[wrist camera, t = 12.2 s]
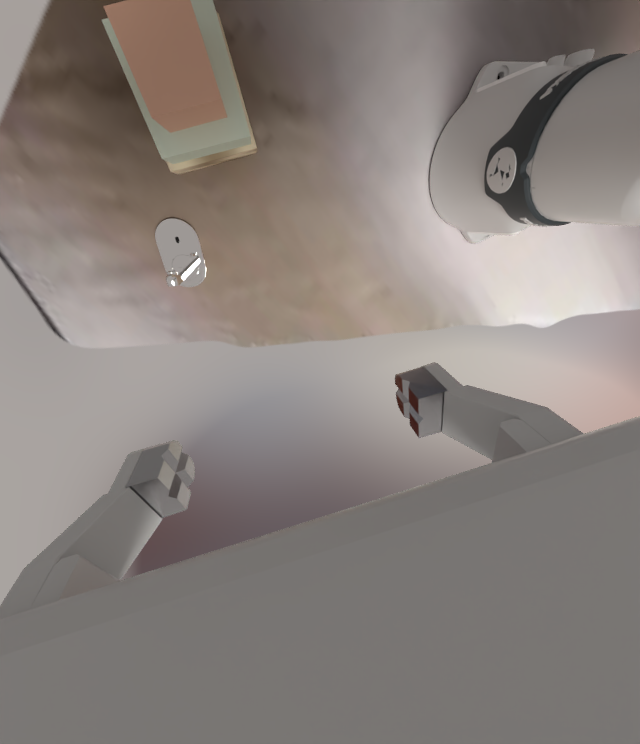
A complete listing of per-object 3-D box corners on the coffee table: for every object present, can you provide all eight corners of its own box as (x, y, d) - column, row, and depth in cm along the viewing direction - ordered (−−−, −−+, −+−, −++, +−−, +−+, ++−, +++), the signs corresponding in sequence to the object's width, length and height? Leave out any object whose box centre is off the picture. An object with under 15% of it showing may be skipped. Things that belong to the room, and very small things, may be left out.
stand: (193, 216, 33) (210, 284, 37) (149, 219, 32) (172, 287, 36) (179, 221, 26) (201, 301, 31) (123, 224, 26) (154, 306, 30)
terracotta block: (199, 29, 20) (185, -15, 16) (227, 117, 23) (221, 98, 19) (134, 46, 20) (103, 6, 16) (170, 132, 23) (151, 117, 19)
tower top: (217, 24, 23) (211, -6, 20) (251, 144, 27) (250, 136, 24) (123, 46, 23) (101, 19, 19) (173, 164, 27) (161, 159, 24)
